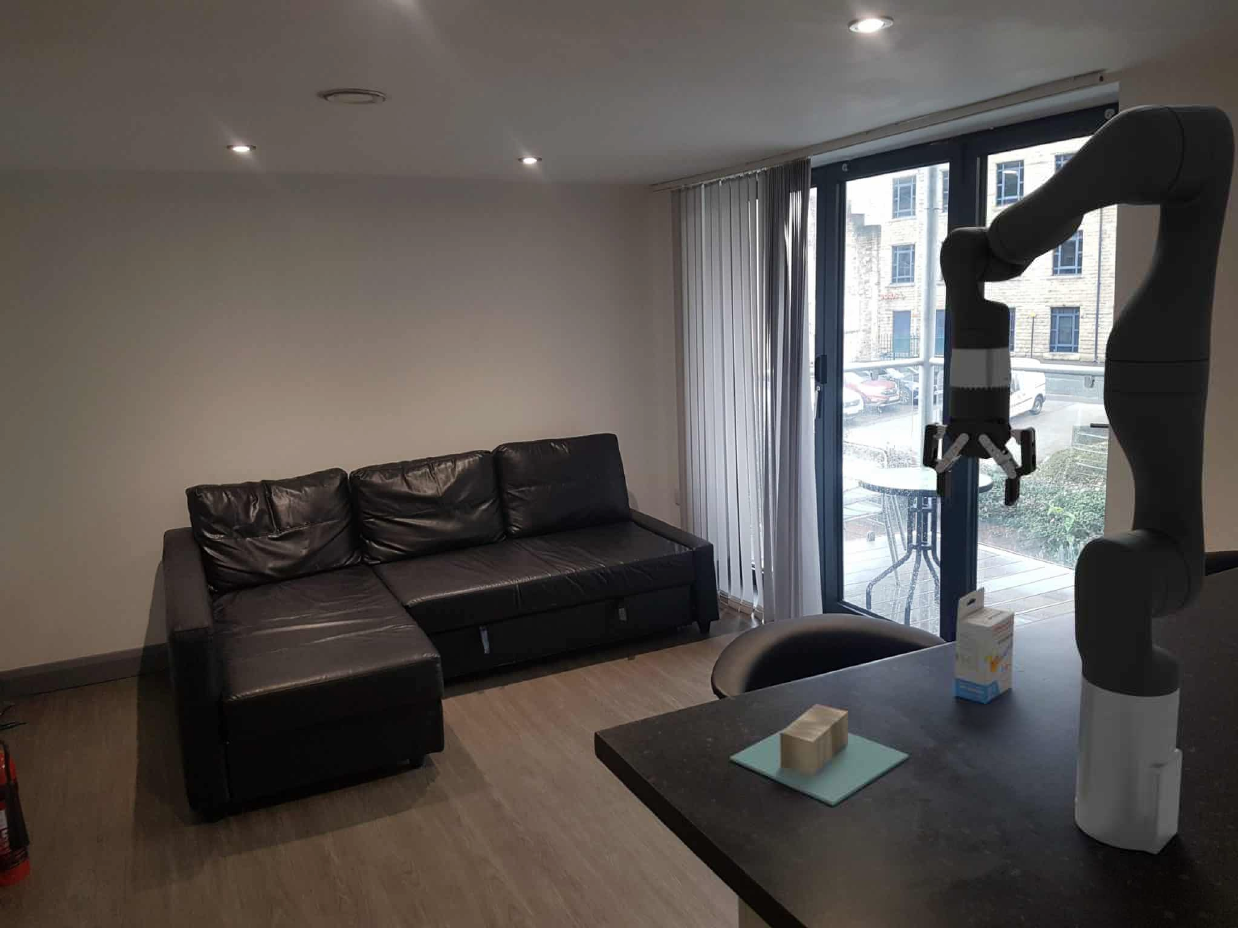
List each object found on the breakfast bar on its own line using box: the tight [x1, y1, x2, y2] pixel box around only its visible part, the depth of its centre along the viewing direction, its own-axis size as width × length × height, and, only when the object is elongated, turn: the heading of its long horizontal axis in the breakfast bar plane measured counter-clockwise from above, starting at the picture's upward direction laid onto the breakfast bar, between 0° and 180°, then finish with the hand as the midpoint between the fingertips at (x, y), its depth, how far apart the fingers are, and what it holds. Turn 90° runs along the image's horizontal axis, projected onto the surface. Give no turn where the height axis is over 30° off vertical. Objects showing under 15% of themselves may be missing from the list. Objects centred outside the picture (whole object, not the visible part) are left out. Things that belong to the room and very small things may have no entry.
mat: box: [729, 728, 909, 807], centre depth 122 cm, size 16×16×1 cm
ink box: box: [954, 586, 1015, 705], centre depth 138 cm, size 8×5×15 cm, turn 134°
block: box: [780, 703, 849, 776], centre depth 122 cm, size 4×4×10 cm
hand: (977, 501), depth 128 cm, fingers open, 8 cm apart
